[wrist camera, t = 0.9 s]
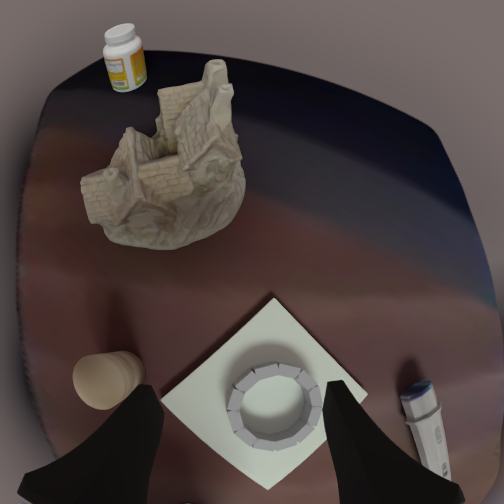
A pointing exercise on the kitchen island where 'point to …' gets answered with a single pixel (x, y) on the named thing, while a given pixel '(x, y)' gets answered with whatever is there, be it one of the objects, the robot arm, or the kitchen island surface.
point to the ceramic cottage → (173, 171)
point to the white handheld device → (427, 426)
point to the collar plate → (261, 396)
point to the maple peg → (107, 378)
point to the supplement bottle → (124, 58)
